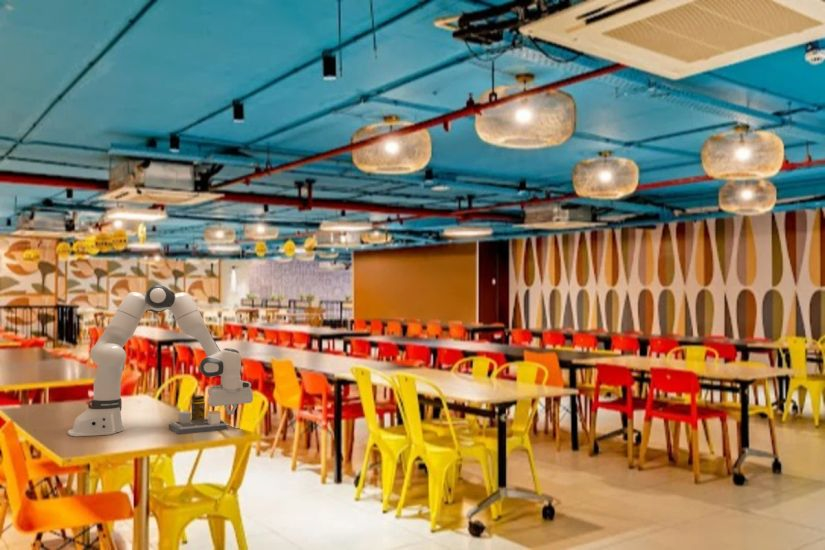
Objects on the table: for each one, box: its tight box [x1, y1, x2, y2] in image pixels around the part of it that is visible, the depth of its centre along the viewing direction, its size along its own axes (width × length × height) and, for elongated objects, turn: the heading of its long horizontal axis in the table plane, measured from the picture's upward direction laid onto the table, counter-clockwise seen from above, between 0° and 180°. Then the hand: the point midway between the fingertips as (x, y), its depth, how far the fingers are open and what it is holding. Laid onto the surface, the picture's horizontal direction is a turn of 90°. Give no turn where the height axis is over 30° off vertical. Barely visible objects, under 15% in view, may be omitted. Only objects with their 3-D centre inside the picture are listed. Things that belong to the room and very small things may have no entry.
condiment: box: [191, 394, 206, 420], centre depth 351 cm, size 7×8×12 cm
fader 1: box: [178, 410, 192, 424], centre depth 333 cm, size 4×5×5 cm
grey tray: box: [168, 418, 228, 435], centre depth 332 cm, size 22×15×3 cm
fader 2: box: [207, 410, 221, 424], centre depth 333 cm, size 4×5×5 cm
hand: (230, 414), depth 337 cm, fingers closed
